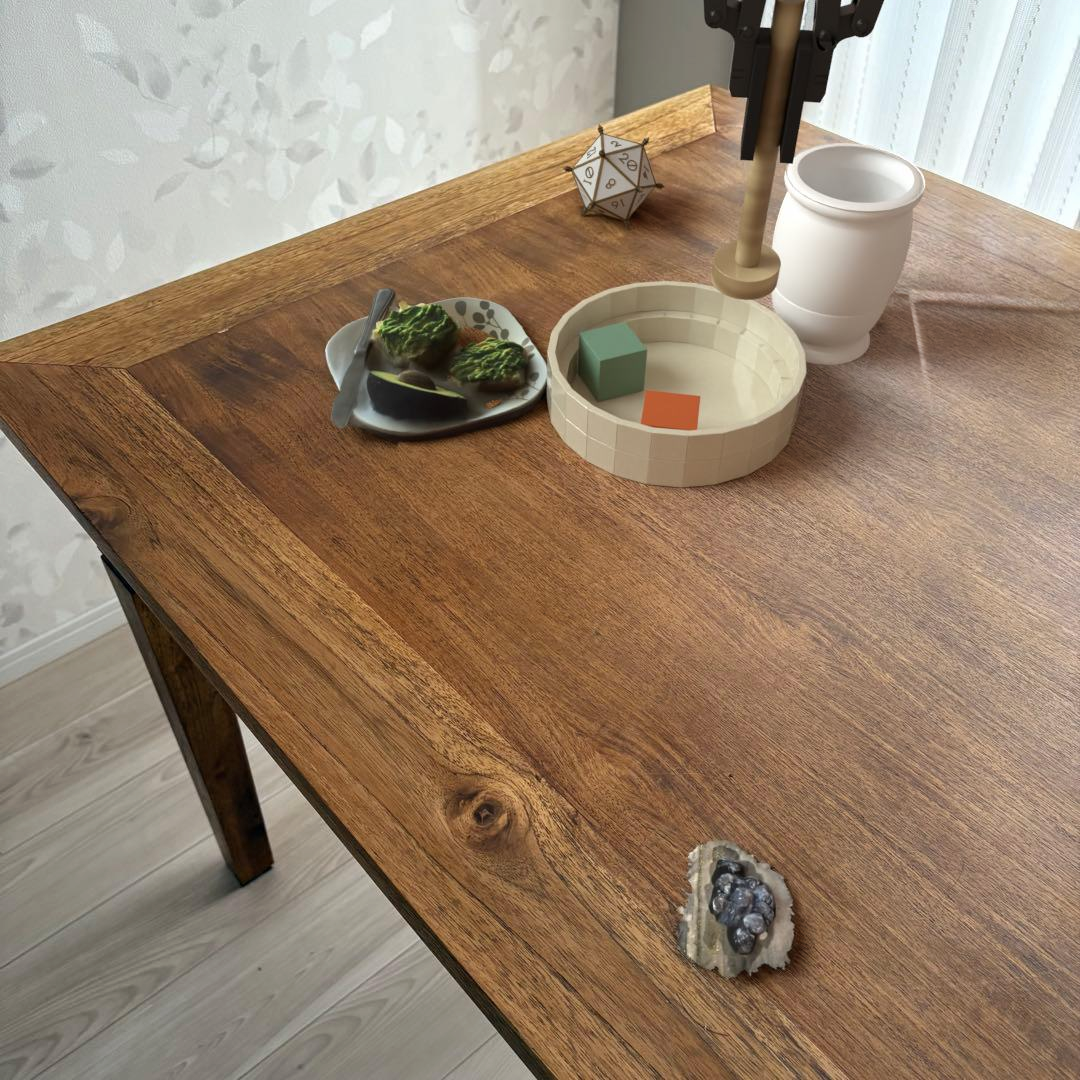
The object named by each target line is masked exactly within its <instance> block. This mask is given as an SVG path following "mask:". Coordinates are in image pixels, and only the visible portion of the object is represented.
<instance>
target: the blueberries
mask: <svg viewBox="0 0 1080 1080" xmlns="http://www.w3.org/2000/svg"><path fill="white" fill-rule="evenodd" d="M687 858H688V859H689V860H690V862H691V863H690V862H688V863H687V865H688V866H690V867H689V869H688V871H687V874H685V877H686V879H687V881H688V883H689V885H690V886H691V889H692V890H691V892H690V893H689V892H688V891H686V890H685V889H684V888H683V887H681V888H680V889H681V890H682V891H683V892H684V895H685V896H687V898H684V900H685V901H687V902H685V905H684V906H685V907H684V906H683V905H680V906H678V907H677V909H676V911H677V912H678V914H679V915H680V914H681V915H682V917H681V919H680V920H679V921H680V923H679V924H678V927H679V928H677V929H678V930H676V932H675V936H676V937H677V941H676V943H675V945H676V946H678V947H680V952H681V951H682V952H683V954H684V956H685V958H688V959H690V960H691V961H693V962H694V963H696V965H697V966H699V967H701V968H702V969H703V968H705V969H706V970H709V971H712V970H713V969H715V967H717V969H718V970H717V972H718V974H719V975H720V976H721V977H723V978H724V977H725V979H726V980H729V979H731V978H733V979H734V978H736V977H738V976H739V975H738V974H741V972H743V971H745V972H746V973H748V976H750V977H751V976H752V973H757V972H759V969H758V968H759V967H762V965H764V964H765V965H769V967H771V968H773V969H775V970H777V968H781V969H782V970H785V969H786V968H785V967H786V963H787V964H790V962H791V959H790V958H789V956H788V952H789V951H790V950H792V944H793V940H794V936H795V934H794V929H795V924H794V923H793V922H792V921H791V920H792V916H795V913H794V912H793V909H792V908H791V907H792V906H793V901H794V899H793V898H792V897H793V896H792V894H791V892H790V891H789V888H788V886H787V883H786V882H785V876H783V875H782V874H781V873H780V872H776V871H774V870H773V869H771V864H769V862H766V863H765V862H763V861H762V860H761V861H760V862H757V859H756V858H755V856H754V855H753V854H749V853H748V852H747V851H746V850H744V849H743V848H742V847H740V846H738V844H737V842H734V841H732V840H731V841H730V840H727V839H722V838H720V839H714V840H712V839H711V838H708V840H707V841H706V843H704V844H703V843H700V844H696V845H695V848H694V849H693V851H690V852H688V856H687V857H686V859H687ZM791 915H792V916H791ZM785 962H786V963H785Z"/></svg>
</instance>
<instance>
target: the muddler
mask: <svg viewBox="0 0 1080 1080" xmlns="http://www.w3.org/2000/svg"><path fill="white" fill-rule="evenodd" d="M806 1H807V0H774V5H773V10H772V17H771V24H770V28H771V29H770V37H771V42H770V53H769V60H768V67H767V73H766V80H765V87H764V93H763V100H762V106H761V113H760V120H759V126H758V133H757V139H756V146H755V153H754V159H753V161H749V164H748V170H747V171H748V172H747V177H746V184H745V190H744V197H743V202H742V203H743V204H742V210H741V216H740V223H739V228H738V234H737V235H738V236H737V240H734V241H730V242H727V243H725V244H722V245H721V246H720V247H718V248H717V249H716V251H715V252H714V253H713V257H712V265H711V271H710V280H711V283H712V285H713V287H715V288H716V289H717V290H718V291H720V292H721V293H723V294H724V295H727V296H729V297H732V298H735V299H741V300H754V301H755V300H759V299H762V298H765V297H767V296H769V295H771V294H772V293H771V292H773V291H774V289H775V288H776V286H777V282H778V277H779V272H780V267H781V261H780V258H779V256H778V254H777V253H776V252H775V251H774V250H773V249H772V247H769V245H766V244H764V238H765V233H766V227H767V221H768V216H769V215H768V214H769V210H770V204H771V198H772V193H773V186H774V181H775V175H776V170H777V164H778V159H779V154H780V141H781V136H782V130H783V124H784V118H785V113H786V107H787V101H788V96H789V90H790V84H791V78H792V73H793V67H794V61H795V56H796V50H797V44H798V38H799V35H800V30H802V24H803V17H804V12H805V6H806Z"/></svg>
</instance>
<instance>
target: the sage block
mask: <svg viewBox="0 0 1080 1080" xmlns="http://www.w3.org/2000/svg"><path fill="white" fill-rule="evenodd" d="M646 359H647V348H646V347H645V346H644V345H643V343H642V342H641V341H640V340H639V338H638V337H637V336H636V334H635V333H634V332H633V331H632V329H631V328H630V327H629V326H628V324H627V323H626V322H622V323H618V324H613V325H609V326H605V327H601V328H596V329H592V330H588V331H584V332H580V333H579V352H578V375H579V376H580V378H581V379H582V380H583V382H584V383H585V385H586V386H587V387H588V389H589V390H590V392H591V393H592V395H593V396H594V397H595V399H596V400H597V402H601V401H605V400H609V399H613V398H617V397H621V396H625V395H628V394H632V393H636V392H640V391H643V390H644V381H645V370H646Z"/></svg>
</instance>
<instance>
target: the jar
mask: <svg viewBox="0 0 1080 1080" xmlns="http://www.w3.org/2000/svg"><path fill="white" fill-rule="evenodd" d="M783 180H784V184H785V185H784V186H785V188H786V190H787V192H786V193H785V195H784V198H783V201H782V203H781V206H780V209H779V212H778V215H777V219H776V222H775V226H774V231H773V237H772V244H771V249H773V250H774V251H775V252H776V253H777V254H778V256H779V258H780V261H781V267H780V272H779V277H778V282H777V286H776V288H775V289H774V291H773V292H771V293H770V294H771V301H772V307H773V312H774V313H775V314H777V315H778V316H779V317H780V318H781V319H782V320H783V321H784V322H785V323H786V324H787V325H788V326H789V327H790V328H791V329H792V330H793V331H794V332H795V333H796V335H797V337H798V339H799V341H800V343H801V345H802V347H803V349H804V351H805V354H806V363H808V364H815V365H825V366H832V365H842V364H847V363H850V362H852V361H855V360H857V359H859V358H860V357H862V356H863V355H864V354H865V353H866V352H867V350H868V349H869V347H870V343H871V335H870V332H871V330H872V329H873V328H875V326H876V324H877V322H879V320H880V318H881V317H882V315H883V313H884V312H885V310H886V307H887V305H888V303H889V301H890V298H891V296H892V295H893V292H894V290H895V288H896V286H897V284H898V282H899V279H900V277H901V274H902V272H903V269H904V266H905V263H906V260H907V257H908V253H909V249H910V244H911V239H912V231H913V222H914V221H913V220H914V209H915V207H917V206H918V204H919V203H920V202H921V200H922V199H923V195H924V193H925V188H926V179H925V176H924V174H923V173H922V171H921V170H920V169H919V168H918V166H917V165H915V164H914V163H913V162H912V161H910V160H909V159H908V158H906V157H903V156H902V155H900V154H898V153H895V152H893V151H890V150H887V149H885V148H881V147H878V146H873V145H869V144H861V143H854V142H853V143H851V142H832V143H823V144H818V145H814V146H813V145H812V146H810V147H807V148H804V149H802V150H801V151H799V152H797V153H795V155H794V160H793V164H788V163H786V166H785V171H784V179H783Z"/></svg>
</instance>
